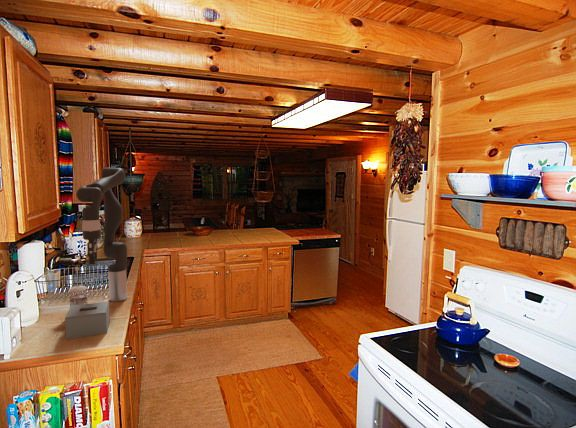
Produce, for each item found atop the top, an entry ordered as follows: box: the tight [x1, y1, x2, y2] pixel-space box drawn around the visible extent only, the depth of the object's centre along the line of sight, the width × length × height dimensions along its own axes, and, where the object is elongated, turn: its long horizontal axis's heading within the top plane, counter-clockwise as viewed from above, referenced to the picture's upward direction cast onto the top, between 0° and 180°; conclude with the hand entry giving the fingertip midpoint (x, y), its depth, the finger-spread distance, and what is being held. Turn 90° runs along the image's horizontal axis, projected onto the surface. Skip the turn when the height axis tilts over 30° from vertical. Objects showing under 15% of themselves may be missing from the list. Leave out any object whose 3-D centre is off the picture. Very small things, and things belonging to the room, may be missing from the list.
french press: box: [68, 267, 89, 308], centre depth 176 cm, size 10×12×25 cm
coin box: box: [64, 300, 111, 340], centre depth 162 cm, size 14×16×10 cm
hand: (93, 261), depth 168 cm, fingers open, 8 cm apart
